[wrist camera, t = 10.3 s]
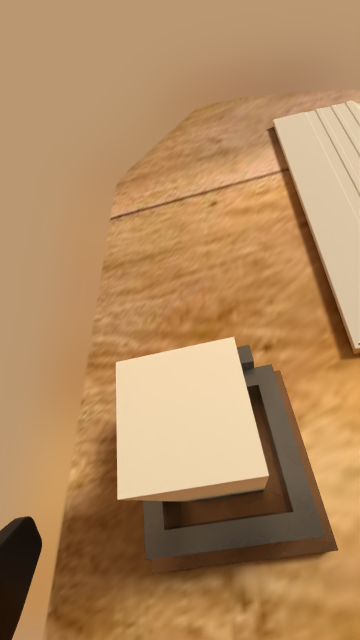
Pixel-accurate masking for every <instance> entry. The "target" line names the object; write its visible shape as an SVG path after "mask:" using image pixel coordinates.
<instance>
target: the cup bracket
mask: <svg viewBox="0 0 360 640" xmlns="http://www.w3.org/2000/svg"><path fill="white" fill-rule="evenodd" d="M237 351H238V355H239V359H240V363H241V367H242V371H243V375H244V379H245V383H246V387H247V391H248V395H249V398H250V402H251V406H252V410H253V414H254V418H255V422H256V426H257V430H258V434H259V438H260V442H261V446H262V450H263V454H264V457H265V461H266V465H267V469H268V473H269V477H268V480H267V483H266V486H265V488H264V491H263V492H257V493H251V494H244V495H238V496H231V497H225V498H218V499H212V500H205V501H199V502H182V501H144V500H143V519H144V540H145V560H148V559H151V566H152V574H153V573H161V572H169V571H177V570H185V569H193V568H201V567H209V566H217V565H225V564H233V563H241V562H249V561H257V560H265V559H273V558H281V557H289V556H297V555H305V554H313V553H321V552H329V551H337V550H338V548H337V545H336V542H335V539H334V535H333V532H332V529H331V526H330V523H329V520H328V517H327V514H326V511H325V508H324V505H323V502H322V499H321V495H320V492H319V489H318V486H317V483H316V480H315V477H314V474H313V471H312V468H311V465H310V462H309V459H308V455H307V452H306V449H305V446H304V443H303V440H302V437H301V434H300V431H299V428H298V425H297V422H296V419H295V415H294V412H293V409H292V406H291V403H290V400H289V397H288V394H287V391H286V388H285V385H284V382H283V379H282V375H281V372H280V371H275V372H274V371H273V368H272V365H266V366H261V367H256V368H254V361H253V357H252V354H251V350H250V346H249V345H246V346H242V347H237Z"/></svg>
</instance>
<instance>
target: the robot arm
mask: <svg viewBox="0 0 360 640" xmlns="http://www.w3.org/2000/svg"><path fill="white" fill-rule="evenodd" d="M41 548H42V539H41V537H40V534H39V532H38V530H37V527H36V525H35V522H34V520H33V519H32V518H31V517H29V516H27V517H20V518H17V519H14V520H13V521H11V522H10V523H9V524H8V525H7V526H5V527H4V528H3V529H2V530H1V531H0V640H12V638H13V635H14V632H15V630H16V627H17V624H18V622H19V619H20V616H21V613H22V610H23V607H24V604H25V600H26V597H27V594H28V591H29V587H30V584H31V581H32V578H33V575H34V571H35V568H36V565H37V562H38V559H39V555H40V552H41Z"/></svg>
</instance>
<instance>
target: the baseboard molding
mask: <svg viewBox="0 0 360 640" xmlns="http://www.w3.org/2000/svg"><path fill="white" fill-rule="evenodd" d="M273 126H274V129H275V132H276V134H277V137H278V140H279V143H280V146H281V149H282V151H283V154H284V157H285V160H286V163H287V166H288V168H289V171H290V174H291V177H292V180H293V183H294V185H295V188H296V191H297V194H298V197H299V199H300V202H301V205H302V208H303V211H304V214H305V216H306V219H307V222H308V225H309V228H310V231H311V233H312V236H313V239H314V242H315V245H316V248H317V250H318V253H319V256H320V259H321V262H322V265H323V267H324V270H325V273H326V276H327V279H328V281H329V284H330V287H331V290H332V293H333V296H334V298H335V301H336V304H337V307H338V310H339V313H340V315H341V318H342V321H343V324H344V327H345V330H346V332H347V335H348V338H349V341H350V344H351V346H352V349H353V352H354V354H358V353H360V104H356V103H355V102H354V101H353V100H351V101H347V102H345V103H343V104H338V105H331V106H330V107H326V108H322V109H320V108H319V109H315V110H314V111H310V112H303V113H299V114H295V115H291V116H286V117H282V118H278V119H274V120H273Z"/></svg>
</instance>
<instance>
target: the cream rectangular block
mask: <svg viewBox="0 0 360 640" xmlns="http://www.w3.org/2000/svg"><path fill="white" fill-rule="evenodd" d="M116 411H117V498H118V500H144V501H182V502H199V501H205V500H212V499H218V498H225V497H231V496H238V495H244V494H251V493H257V492H263V491H264V488H265V486H266V483H267V480H268V477H269V473H268V469H267V465H266V461H265V457H264V454H263V450H262V446H261V442H260V438H259V434H258V430H257V426H256V422H255V418H254V414H253V410H252V406H251V402H250V398H249V395H248V391H247V387H246V383H245V379H244V375H243V371H242V367H241V363H240V359H239V355H238V351H237V347H236V343H235V340H234V337H231V338H226V339H222V340H217V341H212V342H208V343H203V344H199V345H194V346H189V347H185V348H180V349H175V350H171V351H166V352H162V353H157V354H152V355H148V356H143V357H138V358H134V359H129V360H125V361H120V362H116Z"/></svg>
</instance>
